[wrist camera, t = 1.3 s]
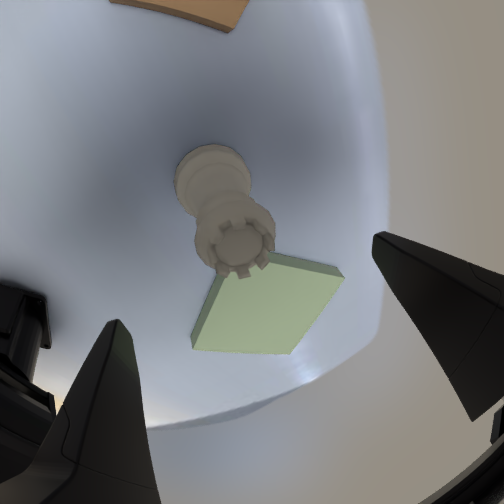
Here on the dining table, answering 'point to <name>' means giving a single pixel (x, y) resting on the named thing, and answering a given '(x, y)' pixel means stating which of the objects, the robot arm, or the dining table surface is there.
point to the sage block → (265, 307)
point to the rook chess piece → (224, 211)
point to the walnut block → (197, 10)
